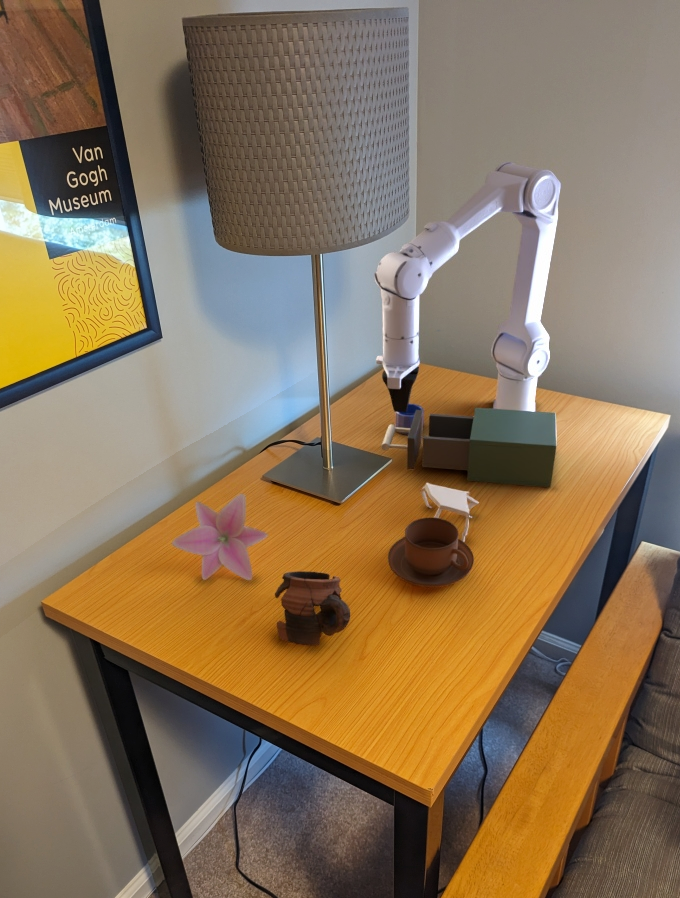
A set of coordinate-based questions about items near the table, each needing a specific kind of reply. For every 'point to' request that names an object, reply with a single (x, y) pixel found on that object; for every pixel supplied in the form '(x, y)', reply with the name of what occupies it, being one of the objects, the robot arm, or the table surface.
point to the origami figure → (449, 502)
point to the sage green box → (512, 447)
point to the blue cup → (406, 417)
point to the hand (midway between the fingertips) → (400, 410)
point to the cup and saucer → (431, 554)
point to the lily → (222, 538)
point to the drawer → (435, 441)
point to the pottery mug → (311, 607)
